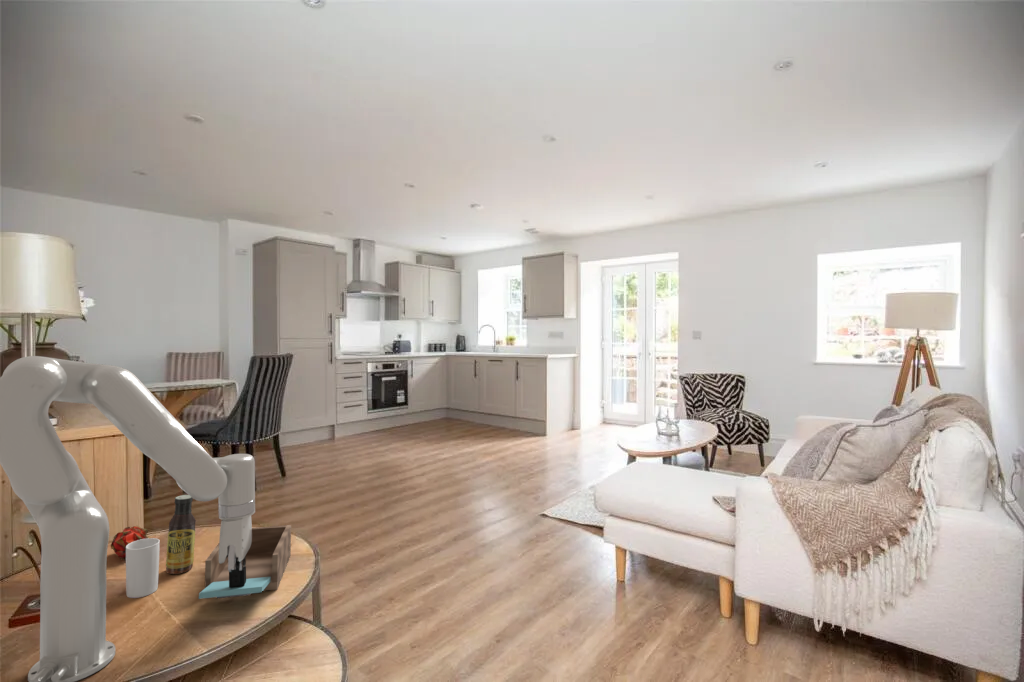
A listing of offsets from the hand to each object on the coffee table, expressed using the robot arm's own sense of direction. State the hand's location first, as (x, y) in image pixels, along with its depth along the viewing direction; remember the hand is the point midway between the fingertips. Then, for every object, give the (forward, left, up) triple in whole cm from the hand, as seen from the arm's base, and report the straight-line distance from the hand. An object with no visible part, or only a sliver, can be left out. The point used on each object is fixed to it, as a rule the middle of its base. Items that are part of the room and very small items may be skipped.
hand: (237, 585), depth 117 cm
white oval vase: (+15, +25, -6) cm, 29 cm away
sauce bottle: (+24, +20, -6) cm, 31 cm away
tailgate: (+7, +1, -3) cm, 7 cm away
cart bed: (+17, +1, -5) cm, 18 cm away
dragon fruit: (+37, +37, -6) cm, 52 cm away
